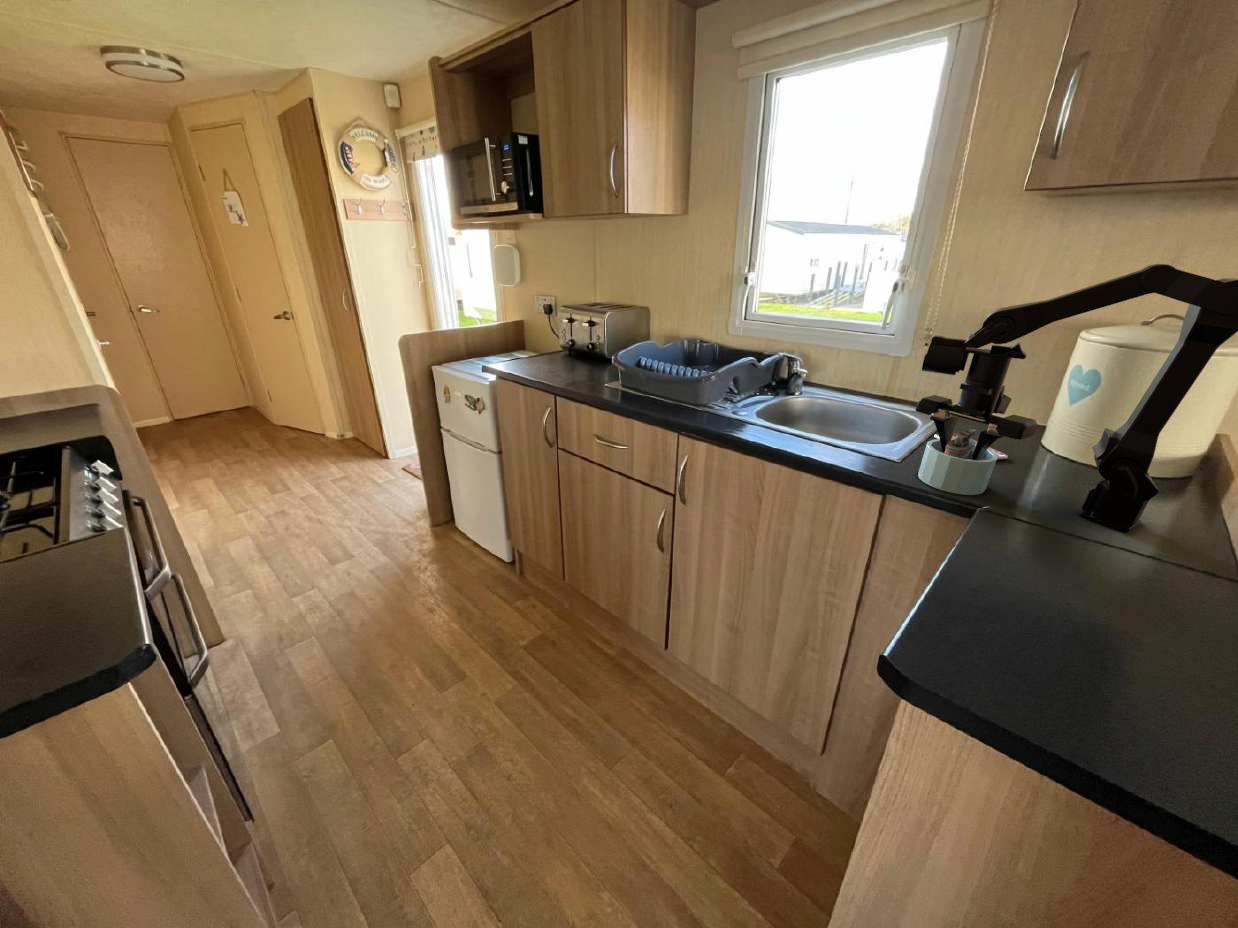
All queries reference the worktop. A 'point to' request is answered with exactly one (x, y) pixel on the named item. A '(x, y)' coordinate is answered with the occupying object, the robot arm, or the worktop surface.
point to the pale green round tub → (956, 470)
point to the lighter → (961, 444)
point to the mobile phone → (999, 454)
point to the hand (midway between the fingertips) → (959, 456)
